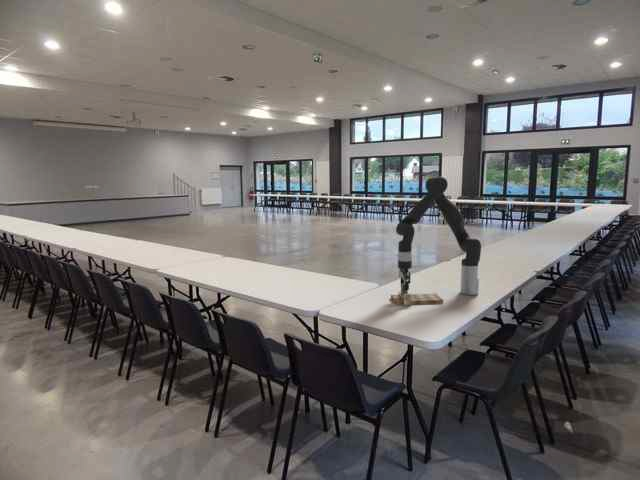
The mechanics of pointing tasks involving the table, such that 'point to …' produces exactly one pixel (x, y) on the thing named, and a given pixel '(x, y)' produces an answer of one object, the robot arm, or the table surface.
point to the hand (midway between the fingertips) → (404, 287)
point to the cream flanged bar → (405, 295)
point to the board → (418, 299)
